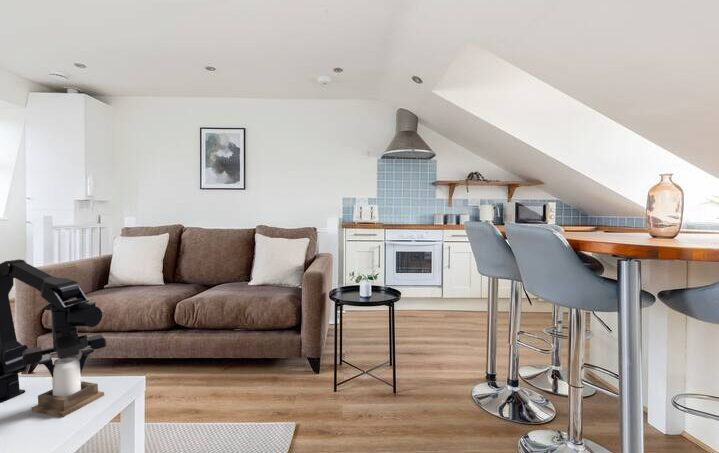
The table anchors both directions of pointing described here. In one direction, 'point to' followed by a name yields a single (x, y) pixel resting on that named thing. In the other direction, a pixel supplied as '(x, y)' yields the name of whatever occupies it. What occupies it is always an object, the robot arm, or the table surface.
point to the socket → (67, 400)
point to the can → (66, 376)
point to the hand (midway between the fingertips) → (67, 377)
